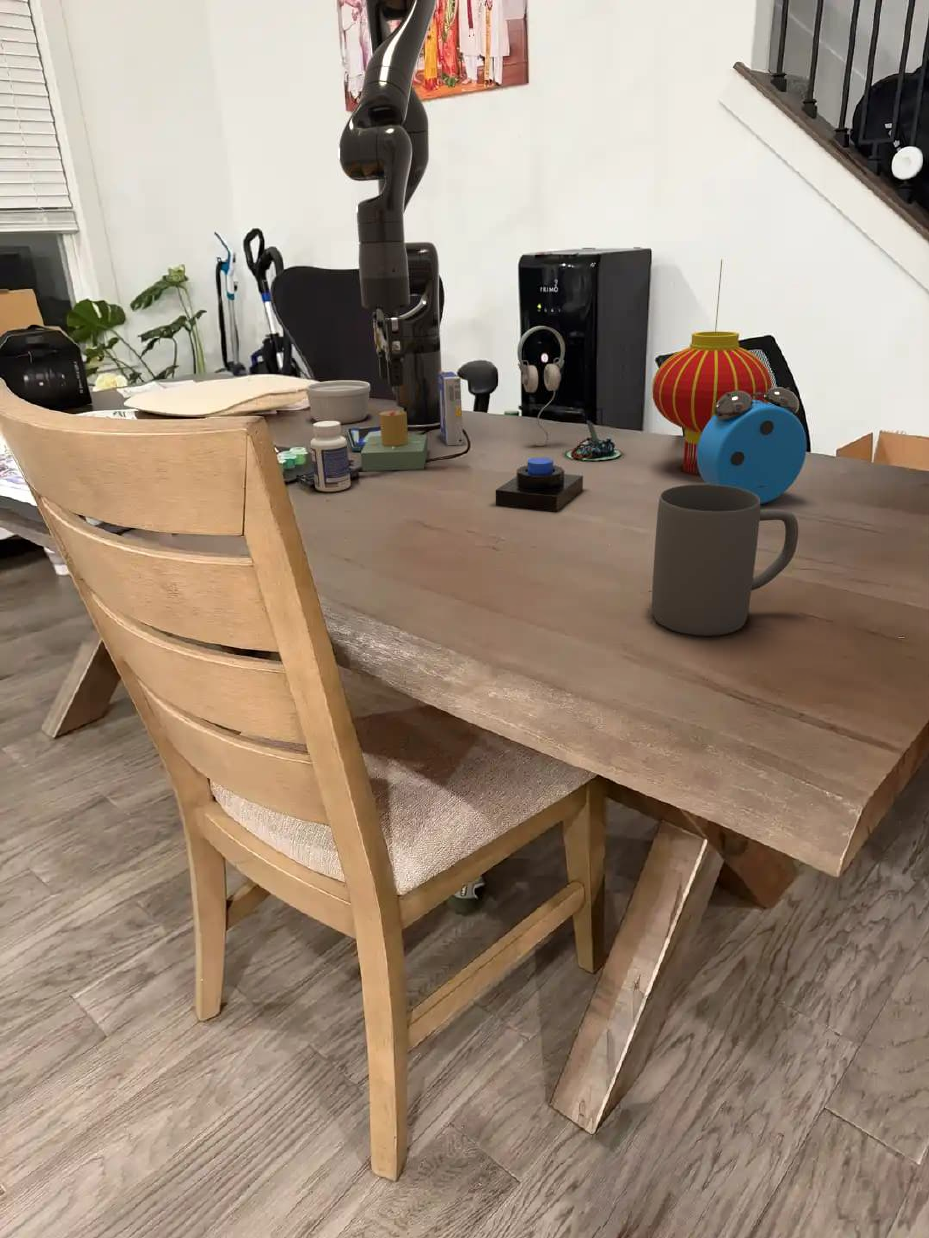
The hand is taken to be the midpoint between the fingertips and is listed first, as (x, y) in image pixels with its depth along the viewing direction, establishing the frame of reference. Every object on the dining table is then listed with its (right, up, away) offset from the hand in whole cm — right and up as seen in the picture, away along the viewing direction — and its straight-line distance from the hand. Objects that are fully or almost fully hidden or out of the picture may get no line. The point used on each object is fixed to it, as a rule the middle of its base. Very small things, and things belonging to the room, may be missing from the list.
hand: (391, 382), depth 137 cm
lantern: (+49, -15, -6) cm, 52 cm away
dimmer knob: (0, -9, +4) cm, 10 cm away
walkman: (+10, -6, +18) cm, 21 cm away
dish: (+34, -11, +5) cm, 36 cm away
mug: (+37, -38, -54) cm, 76 cm away
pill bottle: (-8, -19, -8) cm, 22 cm away
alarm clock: (+50, -22, -21) cm, 59 cm away
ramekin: (-14, +3, +40) cm, 42 cm away
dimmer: (0, -12, +6) cm, 13 cm away
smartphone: (-6, -6, +19) cm, 21 cm away
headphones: (+25, -8, +12) cm, 29 cm away
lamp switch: (+23, -21, -17) cm, 35 cm away
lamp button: (+23, -18, -18) cm, 34 cm away
